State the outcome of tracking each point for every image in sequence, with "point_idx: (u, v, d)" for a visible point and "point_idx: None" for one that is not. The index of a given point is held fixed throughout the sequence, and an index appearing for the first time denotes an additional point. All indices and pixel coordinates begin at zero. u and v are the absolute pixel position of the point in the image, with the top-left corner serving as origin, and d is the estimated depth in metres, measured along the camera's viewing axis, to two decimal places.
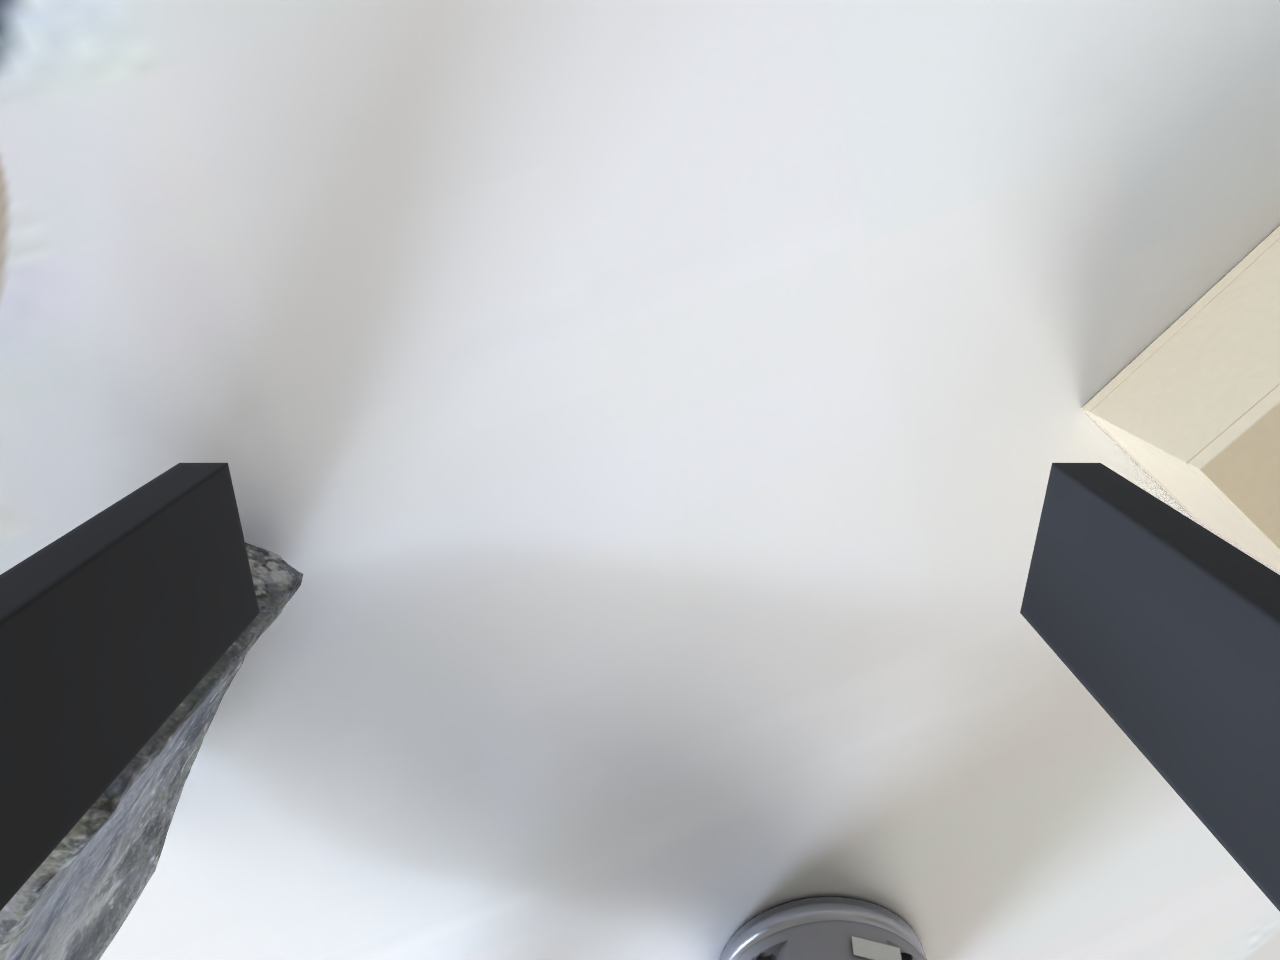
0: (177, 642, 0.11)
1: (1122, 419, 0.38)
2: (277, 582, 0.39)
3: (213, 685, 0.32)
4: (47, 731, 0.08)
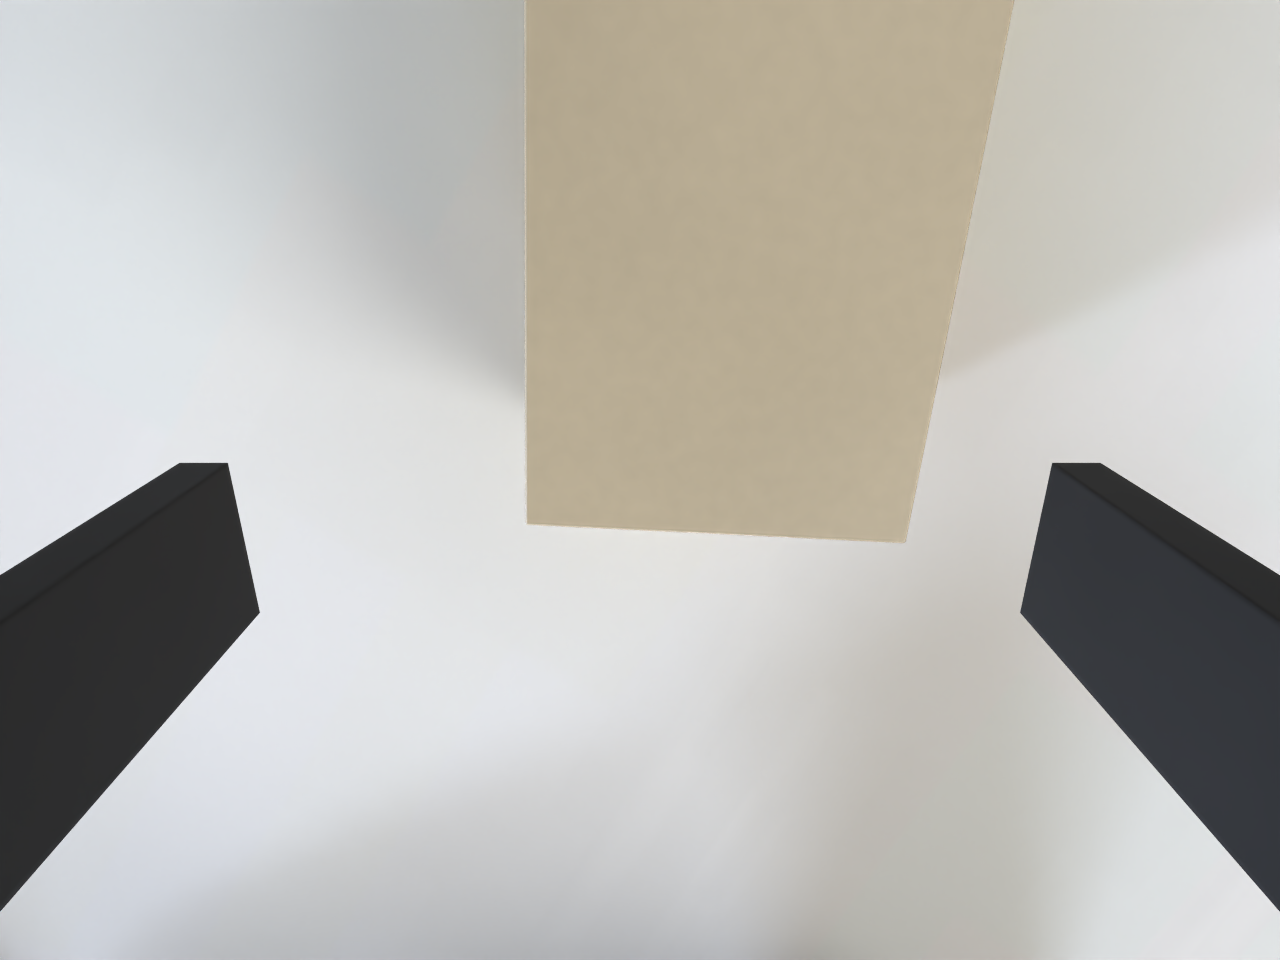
0: (177, 642, 0.11)
1: None
2: None
3: None
4: (47, 731, 0.08)
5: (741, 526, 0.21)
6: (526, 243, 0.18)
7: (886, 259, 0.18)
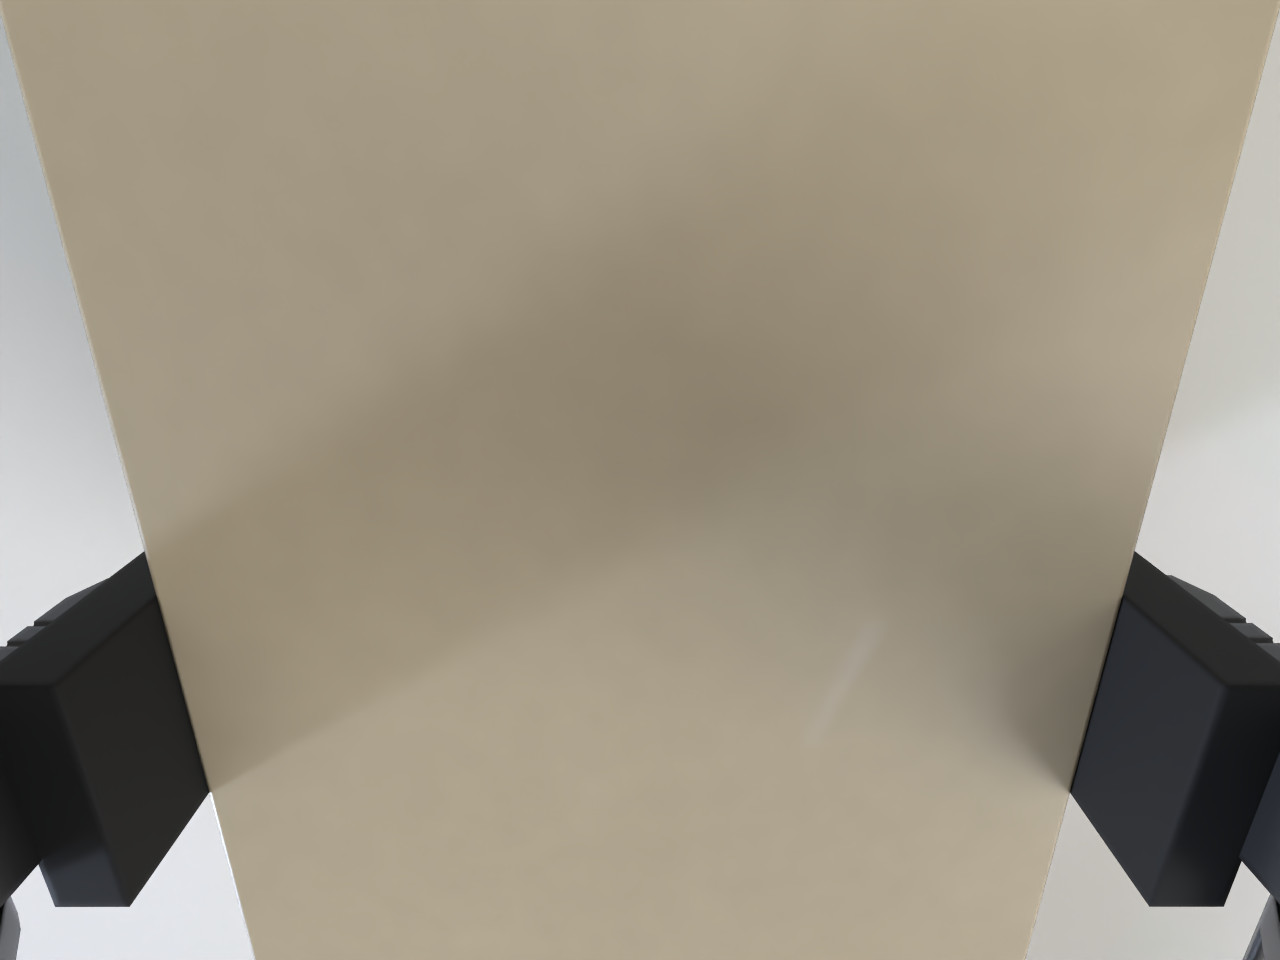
0: None
1: None
2: None
3: None
4: None
5: None
6: (126, 467, 0.08)
7: (979, 460, 0.08)
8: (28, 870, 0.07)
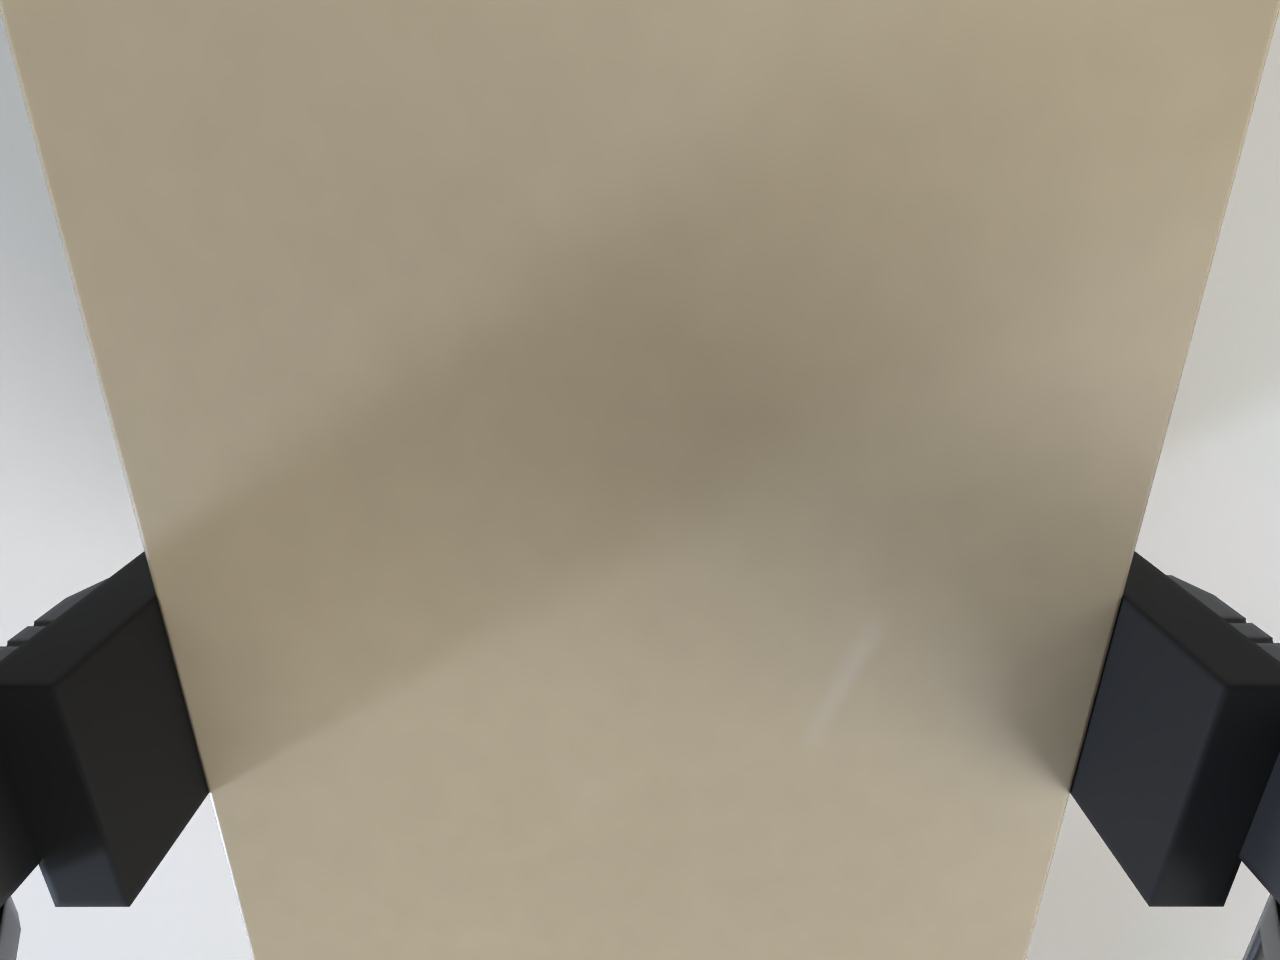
0: None
1: None
2: None
3: None
4: None
5: None
6: (125, 467, 0.08)
7: (978, 460, 0.08)
8: (27, 869, 0.07)
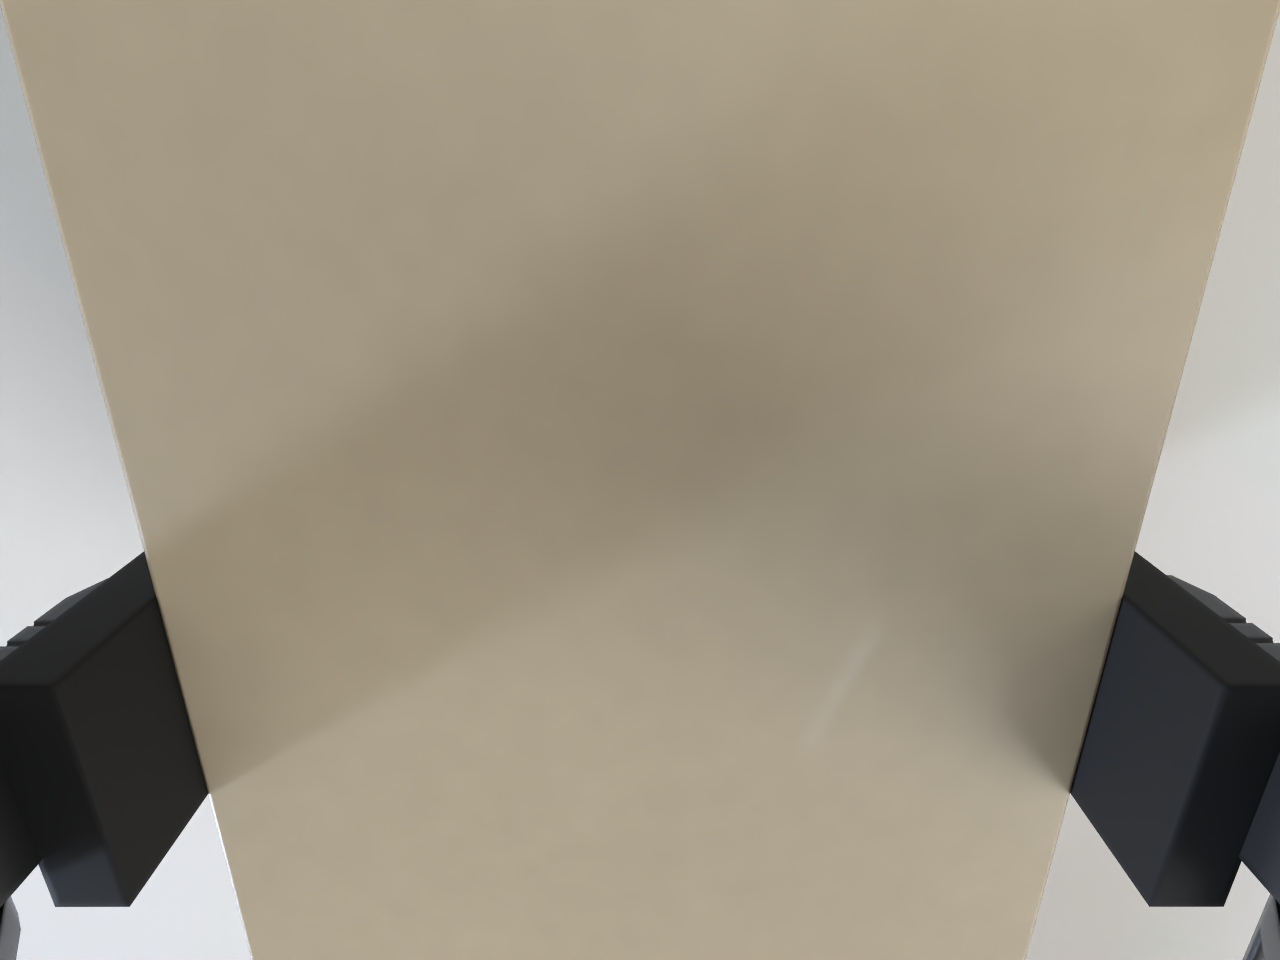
0: None
1: None
2: None
3: None
4: None
5: None
6: (125, 466, 0.08)
7: (979, 460, 0.08)
8: (27, 871, 0.07)
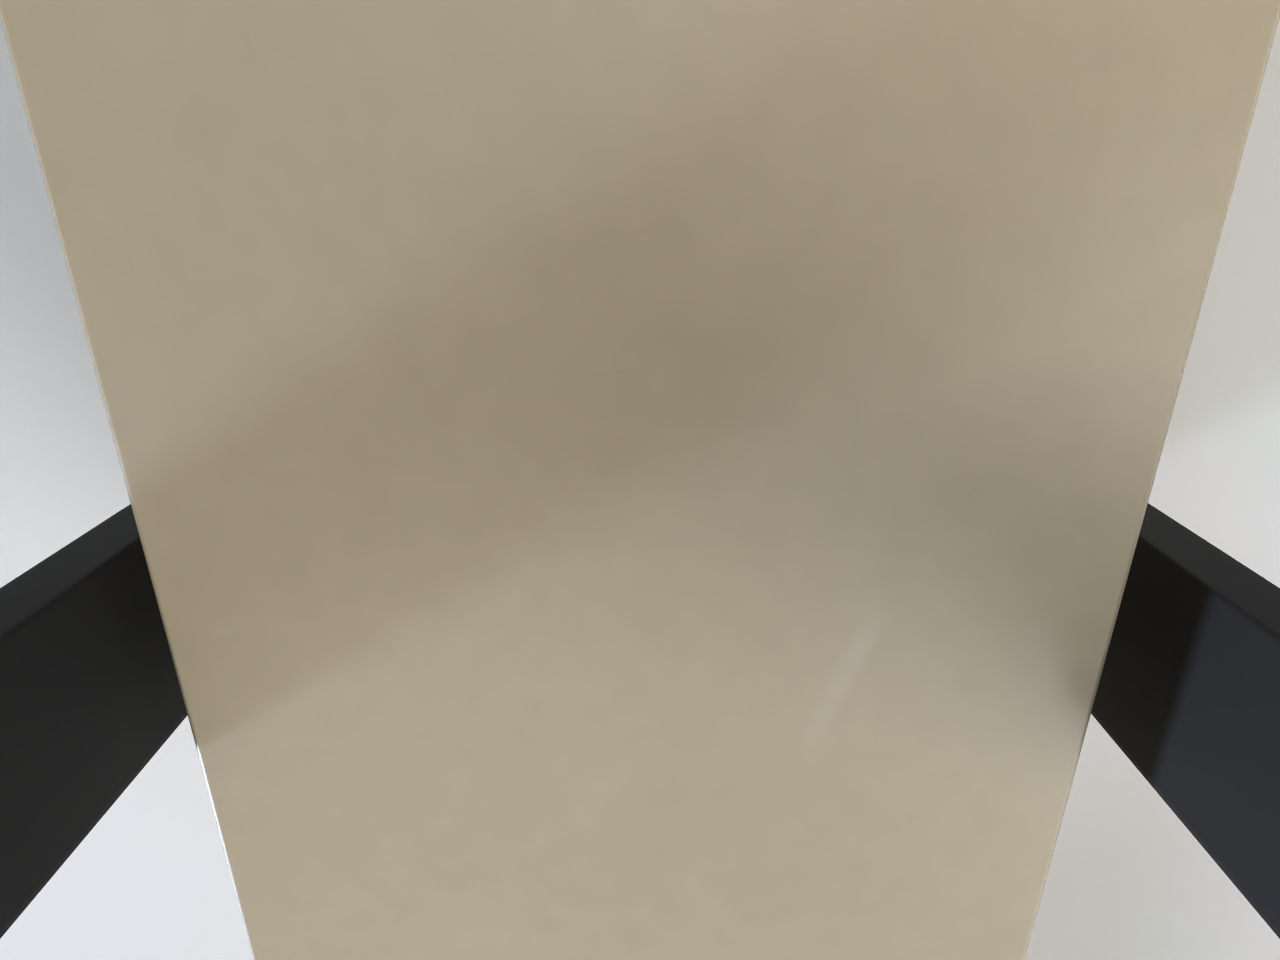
0: None
1: None
2: None
3: None
4: (80, 719, 0.08)
5: (686, 956, 0.10)
6: (122, 460, 0.08)
7: (980, 454, 0.08)
8: None
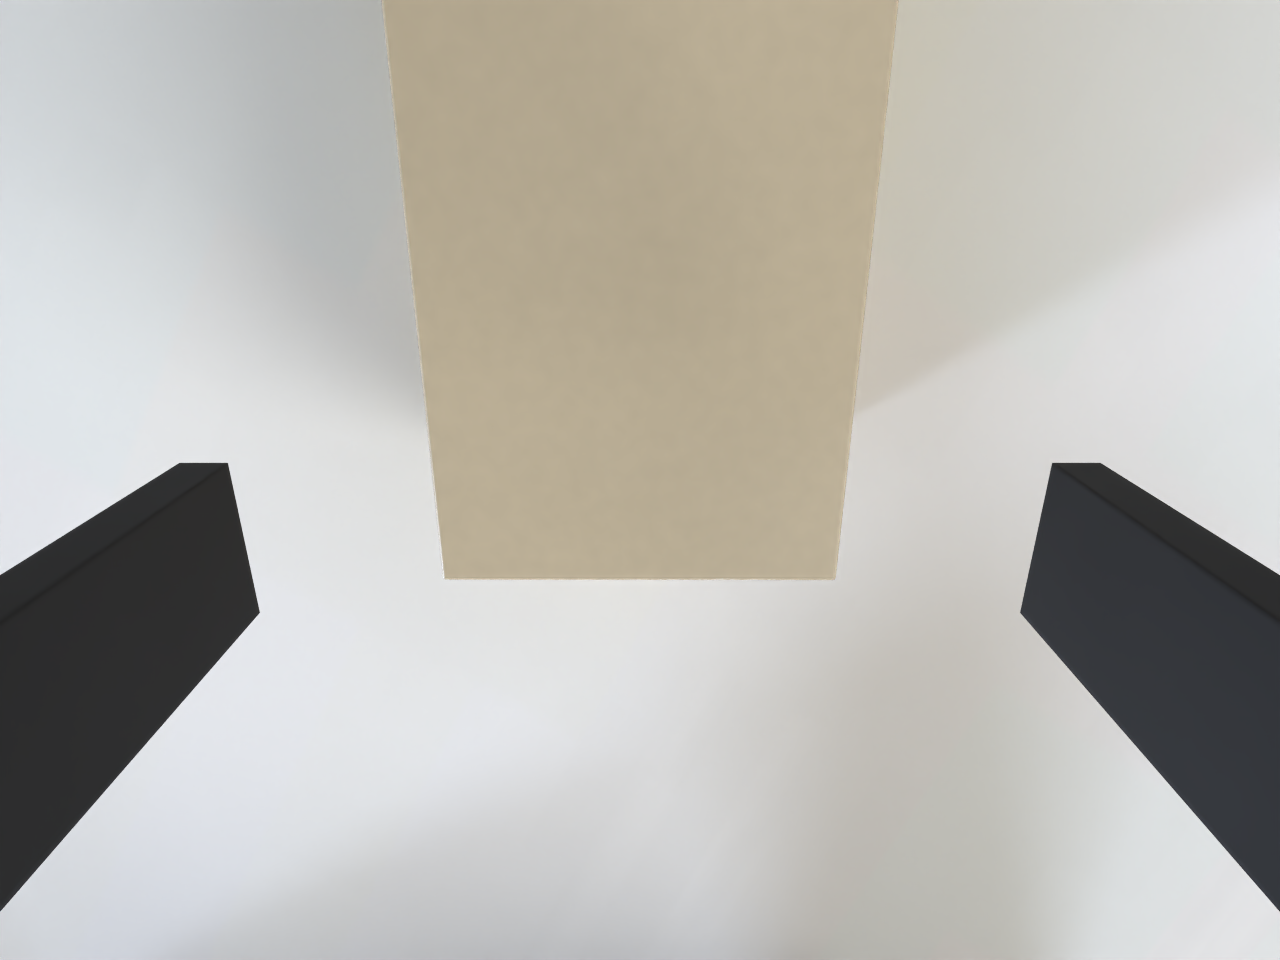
0: (177, 642, 0.11)
1: None
2: None
3: None
4: (47, 731, 0.08)
5: (663, 571, 0.20)
6: (414, 298, 0.17)
7: (787, 295, 0.17)
8: None
